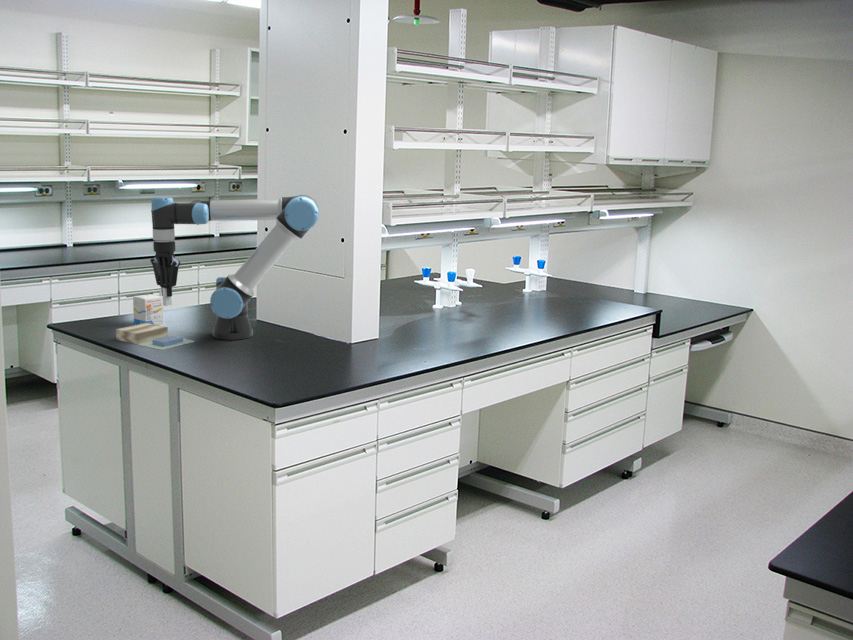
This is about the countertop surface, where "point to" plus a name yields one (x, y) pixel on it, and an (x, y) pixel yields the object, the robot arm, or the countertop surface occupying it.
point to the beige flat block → (141, 333)
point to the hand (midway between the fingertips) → (167, 305)
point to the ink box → (148, 309)
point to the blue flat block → (167, 341)
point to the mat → (150, 345)
